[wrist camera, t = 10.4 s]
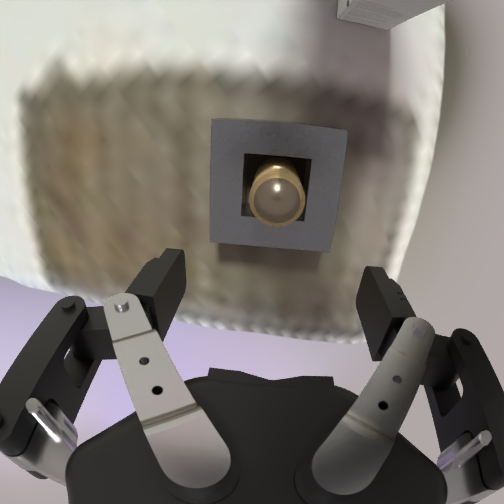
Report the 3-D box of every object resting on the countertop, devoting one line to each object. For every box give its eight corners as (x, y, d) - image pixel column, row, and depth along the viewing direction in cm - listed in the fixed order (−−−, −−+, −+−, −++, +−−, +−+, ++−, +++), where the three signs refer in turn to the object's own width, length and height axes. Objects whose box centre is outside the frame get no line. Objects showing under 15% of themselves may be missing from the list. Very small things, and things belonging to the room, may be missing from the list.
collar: (220, 118, 27) (211, 119, 23) (338, 128, 26) (348, 131, 23) (217, 227, 33) (209, 242, 29) (324, 236, 32) (329, 252, 28)
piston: (256, 155, 29) (249, 171, 21) (299, 159, 28) (308, 176, 21) (254, 196, 31) (247, 225, 23) (295, 200, 30) (302, 230, 23)
